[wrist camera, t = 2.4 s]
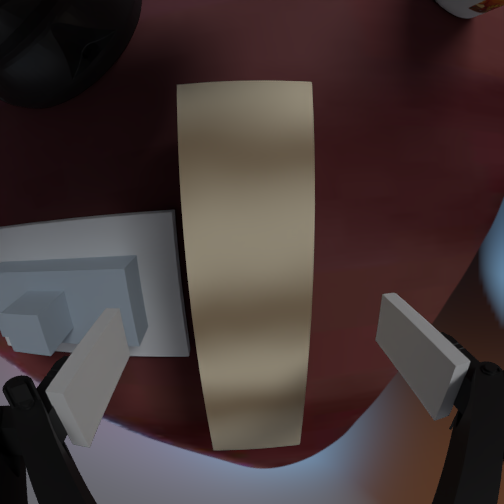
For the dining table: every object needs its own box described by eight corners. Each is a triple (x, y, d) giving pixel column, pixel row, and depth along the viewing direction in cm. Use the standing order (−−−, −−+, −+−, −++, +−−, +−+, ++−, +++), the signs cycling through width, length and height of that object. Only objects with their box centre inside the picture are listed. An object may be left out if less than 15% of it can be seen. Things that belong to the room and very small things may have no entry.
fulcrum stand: (-16, 229, 22) (-72, 253, 14) (174, 209, 23) (146, 236, 15) (13, 339, 25) (-27, 382, 17) (190, 348, 26) (178, 415, 18)
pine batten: (192, 106, 18) (176, 84, 12) (288, 103, 18) (311, 82, 13) (215, 396, 24) (213, 450, 19) (287, 391, 25) (299, 444, 19)
